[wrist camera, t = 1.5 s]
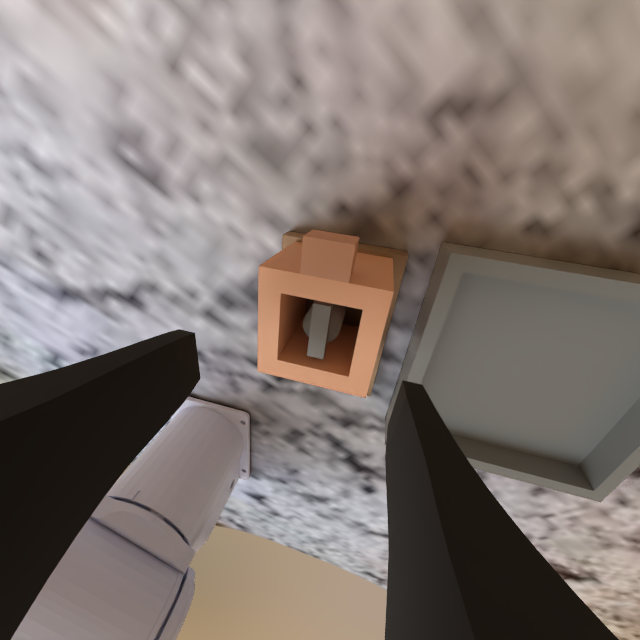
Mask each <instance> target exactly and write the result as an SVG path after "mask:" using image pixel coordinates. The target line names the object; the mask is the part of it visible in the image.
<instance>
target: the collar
mask: <svg viewBox="0 0 640 640" xmlns="http://www.w3.org/2000/svg"><path fill="white" fill-rule="evenodd" d="M359 238H360V237H356V236H350V235H344V234H338V233H332V232H326V231H320V230H314V229H312V230H311V231H309V232H308V233H307V234H305V235H304V236H303V242H302V243H301V242H293V243H292V244H291V245H289V246H288V247H286V248H285V249H283V250H282V251H280V252H279V253H277V254H276V255H274V256H273V257H271V258H270V259H268V260H267V261H266V262H264V263H263V264H261V265H260V266H259V290H258V372H262V373H266V374H270V375H274V376H278V377H282V378H287V379H291V380H295V381H299V382H303V383H307V384H311V385H315V386H319V387H323V388H327V389H331V390H335V391H339V392H343V393H347V394H351V395H356V396H360V397H364V398H366V396H367V392H368V388H369V384H370V380H371V377H372V373H373V369H374V365H375V362H376V358H377V354H378V350H379V346H380V343H381V339H382V335H383V331H384V327H385V324H386V320H387V316H388V312H389V309H390V305H391V301H392V297H393V293H394V278H393V258H387V257H381V256H376V255H370V254H364V253H358V252H357V249H358V243H359ZM306 299H312V300H317V301H322V302H327V303H332V304H337V305H342V306H347V307H352V308H357V309H361V310H363V311H362V316H361V320H360V325H359V326H354V325H349V324H344V323H342V326H341V329H340V332H339V334H338V336H337V337H336V338H335V339H334V340H333V341H331V342H327V347H326V353H325V356H324V358H323V359H319V358H315V357H311V356H307V351H308V343H309V337H308V336H307V334H306V333H305V331H304V328H303V320H304V318H305V316H306V315H305V309H306Z"/></svg>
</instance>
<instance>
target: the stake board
mask: <svg viewBox="0 0 640 640" xmlns="http://www.w3.org/2000/svg"><path fill="white" fill-rule="evenodd" d="M304 235H305V234H303V233H297V232H291V231H289V232H287V233H285V234H283V238H282V250H283V249H285V248H286V247H288V246H289V245H291V244H292V243H293V242H301V243H302V242H303V236H304ZM357 252H358V253H364V254H370V255H376V256H381V257H387V258H393V278H394V293H393V297H392V301H391V305H390V309H389V312H388V316H387V320H386V324H385V327H384V331H383V335H382V339H381V343H380V346H379V350H378V354H377V358H376V362H375V365H374V369H373V373H372V377H371V380H370V384H369V388H368V392H367V396H370V395H371V391H372V387H373V384H374V380H375V376H376V373H377V369H378V365H379V362H380V358H381V354H382V351H383V347H384V343H385V340H386V336H387V332H388V329H389V325H390V321H391V318H392V314H393V310H394V307H395V303H396V299H397V296H398V292H399V288H400V285H401V281H402V277H403V274H404V270H405V266H406V263H407V259H408V253H407V251H403V250H398V249H392V248H386V247H380V246H374V245H368V244H362V243H358V249H357ZM362 311H363V310H361V309H357V308H352V307H347V306H342V305H337V304H332V303H327V302H322V301H317V300H312V299H306V309H305V315H306V316H305V318H304V320H303V328H304V331H305V333H306V334H307V336H308V337H309V343H308V351H307V356H311V357H315V358H319V359H323V358H324V356H325V353H326V347H327V342H331V341H333V340H334V339H335V338H336V337H337V336H338V334H339V332H340V329H341V326H342V323H344V324H349V325H354V326H359V325H360V320H361V316H362Z"/></svg>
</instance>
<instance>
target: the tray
mask: <svg viewBox="0 0 640 640" xmlns="http://www.w3.org/2000/svg"><path fill="white" fill-rule="evenodd" d="M402 380H404V381H408V382H413V383H417V384H422V385H423V387H424V388H425V390H426V392H427V393H428V395H429V397H430V399H431V401H432V402H433V404H434V406H435V408H436V409H437V411H438V413H439V415H440V416H441V418H442V420H443V421H444V423H445V425H446V426H447V428H448V430H449V431H450V433H451V434H452V436H453V438H454V439H455V441H456V442H457V444H458V446H459V447H460V449H461V450H462V452H463V453H464V455H465V456H466V458H467V459H468V461H469V462H470V464H471V465H472V467H473V468H475V469H478V470H482V471H486V472H490V473H493V474H497V475H501V476H505V477H508V478H512V479H516V480H520V481H523V482H527V483H531V484H535V485H538V486H542V487H546V488H550V489H553V490H557V491H561V492H565V493H568V494H572V495H576V496H580V497H583V498H587V499H591V500H595V501H598V502H601V501H602V500H603V499H604V498H605V497H606V496H607V495H609V494H610V493H611V492H612V491H613V490H614V489H615V488H616V487H617V486H618V485H619V484H620V483H621V482H622V481H623V480H625V479H626V478H627V477H628V476H629V475H630V474H631V473H632V472H633V471H634V470H635V469H636V468H637V467H638V466H639V465H640V274H638V273H631V272H625V271H619V270H613V269H607V268H601V267H594V266H588V265H582V264H576V263H570V262H563V261H557V260H551V259H545V258H539V257H533V256H526V255H520V254H514V253H508V252H502V251H496V250H489V249H483V248H477V247H471V246H465V245H458V244H452V243H446V242H442V245H441V248H440V251H439V254H438V257H437V261H436V264H435V267H434V270H433V273H432V276H431V279H430V282H429V285H428V288H427V291H426V294H425V298H424V301H423V304H422V307H421V310H420V313H419V316H418V319H417V322H416V325H415V328H414V331H413V335H412V338H411V341H410V344H409V347H408V350H407V353H406V356H405V359H404V362H403V365H402V368H401V372H400V375H399V378H398V381H397V384H396V387H395V390H394V393H393V396H392V399H391V402H390V405H389V408H388V412H387V415H386V418H385V445H386V440H387V427H388V423H389V420H390V417H391V414H392V411H393V407H394V404H395V401H396V398H397V395H398V392H399V389H400V386H401V383H402Z"/></svg>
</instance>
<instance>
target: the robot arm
mask: <svg viewBox="0 0 640 640" xmlns="http://www.w3.org/2000/svg"><path fill="white" fill-rule="evenodd" d="M199 380H200V372H199V364H198V355H197V347H196V339H195V333H193V332H188V331H184V330H175V331H171V332H168V333H165V334H162V335H159V336H156V337H153V338H150V339H147V340H144V341H141V342H138V343H135V344H133V345H130V346H127V347H124V348H121V349H118V350H115V351H112V352H110V353H107V354H104V355H100V356H97V357H94V358H91V359H88V360H85V361H82V362H78V363H75V364H72V365H69V366H66V367H63V368H59V369H56V370H52V371H49V372H45V373H42V374H38V375H34V376H30V377H26V378H22V379H18V380H14V381H10V382H6V383H2V384H0V640H176V638H177V636H178V634H179V632H180V630H181V628H182V625H183V623H184V621H185V618H186V616H187V613H188V611H189V608H190V605H191V602H192V599H193V595H194V590H195V582H194V578H195V572H194V570H193V569H192V568H190V567H189V564H190V563H191V561H192V559H193V557H194V555H195V553H196V552H197V551H198V550H199V549H200V548H201V547H202V546H203V545H204V543H205V542H206V541H207V539H208V538H209V536H210V534H211V532H212V530H213V528H214V526H215V524H216V522H217V520H218V518H219V516H220V514H221V512H222V510H223V508H224V506H225V504H226V502H227V500H228V498H229V496H230V494H231V492H232V490H233V488H234V486H235V484H236V482H237V480H238V478H241V479H244V480H247V479H249V477H250V416H249V414H248V413H247V412H244V411H240V410H237V409H233V408H229V407H225V406H222V405H218V404H214V403H211V402H207V401H203V400H200V399H196V398H192V397H188V396H189V395H190V393H191V392H192V390H193V389H194V387H195V386H196V384H197V383H198V381H199ZM170 418H171V421H170V422H169V423H168V425H167V426H166V427H165V428H164V429H163V430H162V431H161V432H160V433H159V435H158V436H157V437H156V438H155V439H154V440H153V441H152V442H151V443H150V445H149V446H148V447H147V448H146V449H145V450H144V451H143V452H142V453H141V455H140V456H139V457H138V458H137V459H136V460H135V461H134V462H133V463H132V465H131V466H130V467H129V468H128V469H127V470H126V471H125V472H124V470H125V469H126V468H127V467H128V465H129V464H130V463H131V462H132V461H133V459H134V458H135V457H136V456H137V455H138V454H139V453H140V452H141V450H142V449H143V448H144V447H145V446H146V445H147V444H148V443H149V441H150V440H151V439H152V438H153V437H154V436H155V435H156V434H157V433H158V431H159V430H160V429H161V428H162V427H163V426H164V425H165V424H166V422H167V421H168V420H169V419H170ZM385 459H386V486H387V509H388V533H389V561H388V585H387V607H386V626H385V627H386V628H385V640H619V639H618V638H617V637H616V636H615V635H614V634H613V633H612V632H611V631H610V630H609V629H608V628H607V627H606V626H605V625H604V624H603V623H602V622H601V621H600V619H599V618H598V617H597V616H596V615H595V614H594V613H593V612H592V611H591V610H590V609H589V608H588V606H587V605H586V604H585V603H584V602H583V601H582V600H581V599H580V598H579V597H578V596H577V595H576V593H575V592H574V591H573V590H572V589H571V588H570V587H569V586H568V584H567V583H566V582H565V581H564V580H563V579H562V578H561V577H560V575H559V574H558V573H557V572H556V571H555V570H554V569H553V567H552V566H551V565H550V564H549V563H548V562H547V561H546V560H545V558H544V557H543V556H542V555H541V554H540V553H539V552H538V550H537V549H536V548H535V547H534V546H533V544H532V543H531V542H530V541H529V540H528V539H527V537H526V536H525V535H524V534H523V533H522V531H521V530H520V529H519V528H518V526H517V525H516V524H515V523H514V521H513V520H512V519H511V518H510V516H509V515H508V514H507V512H506V511H505V510H504V509H503V507H502V506H501V505H500V504H499V502H498V501H497V500H496V499H495V497H494V496H493V495H492V493H491V492H490V491H489V489H488V488H487V487H486V485H485V484H484V482H483V481H482V480H481V478H480V477H479V475H478V474H477V472H476V471H475V470H474V468H473V467H472V465H471V464H470V462H469V461H468V459H467V458H466V456H465V455H464V453H463V452H462V450H461V449H460V447H459V446H458V444H457V442H456V441H455V439H454V438H453V436H452V434H451V433H450V431H449V430H448V428H447V426H446V425H445V423H444V421H443V420H442V418H441V416H440V415H439V413H438V411H437V409H436V408H435V406H434V404H433V402H432V401H431V399H430V397H429V395H428V393H427V392H426V390H425V388H424V387H423V385H422V384H417V383H413V382H408V381H404V380H402V383H401V386H400V389H399V392H398V395H397V398H396V401H395V404H394V407H393V411H392V414H391V417H390V420H389V423H388V427H387V440H386V455H385ZM123 472H124V473H123ZM122 473H123V475H122V476H121V474H122ZM120 476H121V477H120ZM119 477H120V478H119ZM118 478H119V479H118Z"/></svg>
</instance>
